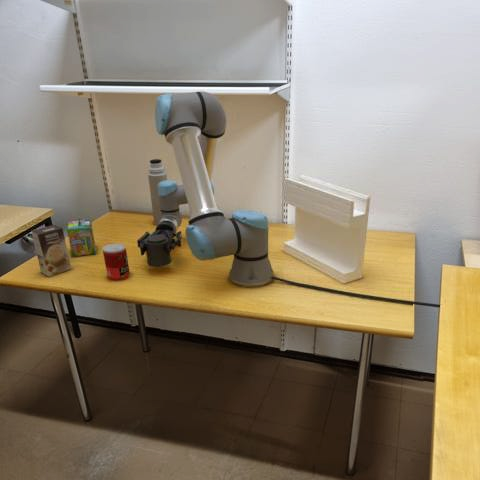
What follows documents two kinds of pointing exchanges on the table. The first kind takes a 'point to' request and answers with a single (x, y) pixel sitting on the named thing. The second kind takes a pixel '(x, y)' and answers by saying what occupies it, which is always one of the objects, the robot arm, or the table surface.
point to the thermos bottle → (156, 186)
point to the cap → (157, 251)
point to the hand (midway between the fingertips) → (154, 251)
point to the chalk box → (81, 237)
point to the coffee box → (51, 250)
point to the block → (328, 227)
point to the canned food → (116, 261)
